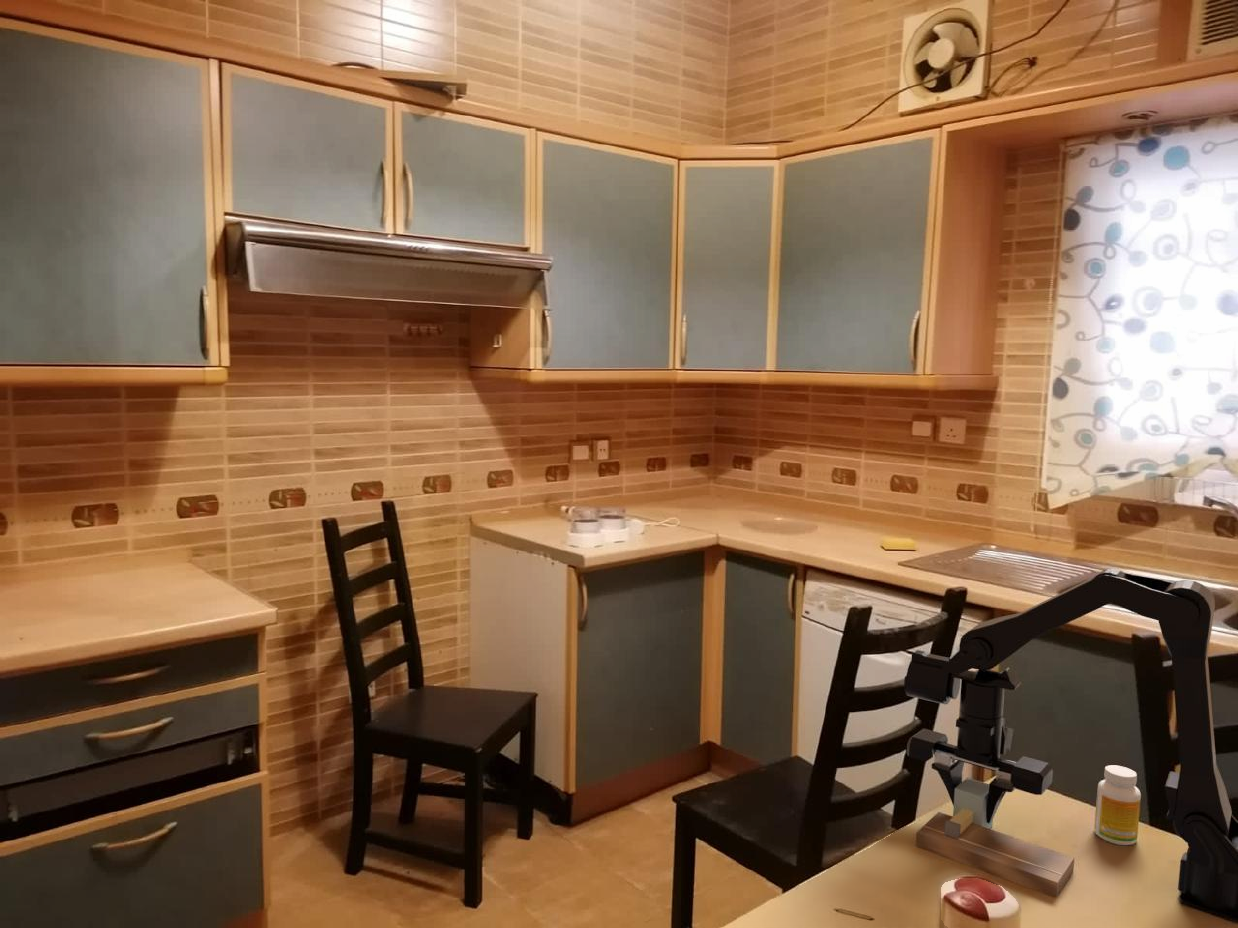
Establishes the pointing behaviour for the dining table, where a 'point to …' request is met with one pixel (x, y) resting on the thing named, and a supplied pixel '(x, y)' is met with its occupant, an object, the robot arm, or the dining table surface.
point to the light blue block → (968, 807)
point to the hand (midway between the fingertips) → (973, 816)
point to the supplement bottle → (1118, 806)
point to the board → (999, 855)
